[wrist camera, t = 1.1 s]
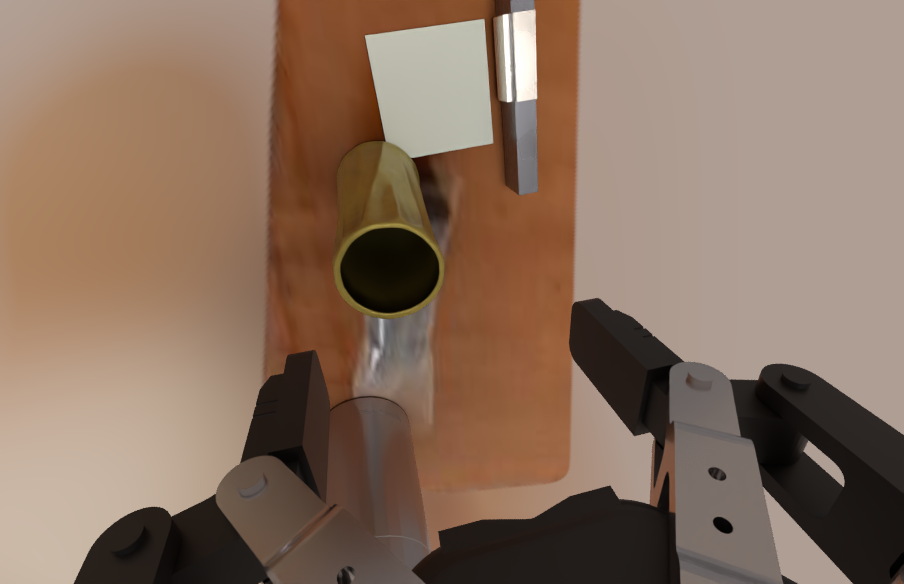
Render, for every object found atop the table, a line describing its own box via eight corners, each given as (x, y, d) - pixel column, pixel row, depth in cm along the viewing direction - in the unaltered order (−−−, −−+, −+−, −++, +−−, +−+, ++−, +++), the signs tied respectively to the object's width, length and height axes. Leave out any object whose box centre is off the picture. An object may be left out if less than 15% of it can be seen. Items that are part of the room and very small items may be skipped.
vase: (360, 123, 29) (360, 187, 17) (434, 167, 31) (479, 249, 20) (323, 197, 31) (300, 299, 19) (395, 233, 34) (414, 342, 22)
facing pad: (492, 142, 32) (493, 143, 32) (389, 161, 31) (390, 161, 31) (483, 19, 28) (484, 18, 28) (364, 35, 27) (364, 35, 27)
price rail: (523, 181, 34) (539, 192, 31) (501, 186, 34) (515, 197, 31) (515, -31, 27) (535, -42, 24) (487, -28, 27) (504, -39, 24)
